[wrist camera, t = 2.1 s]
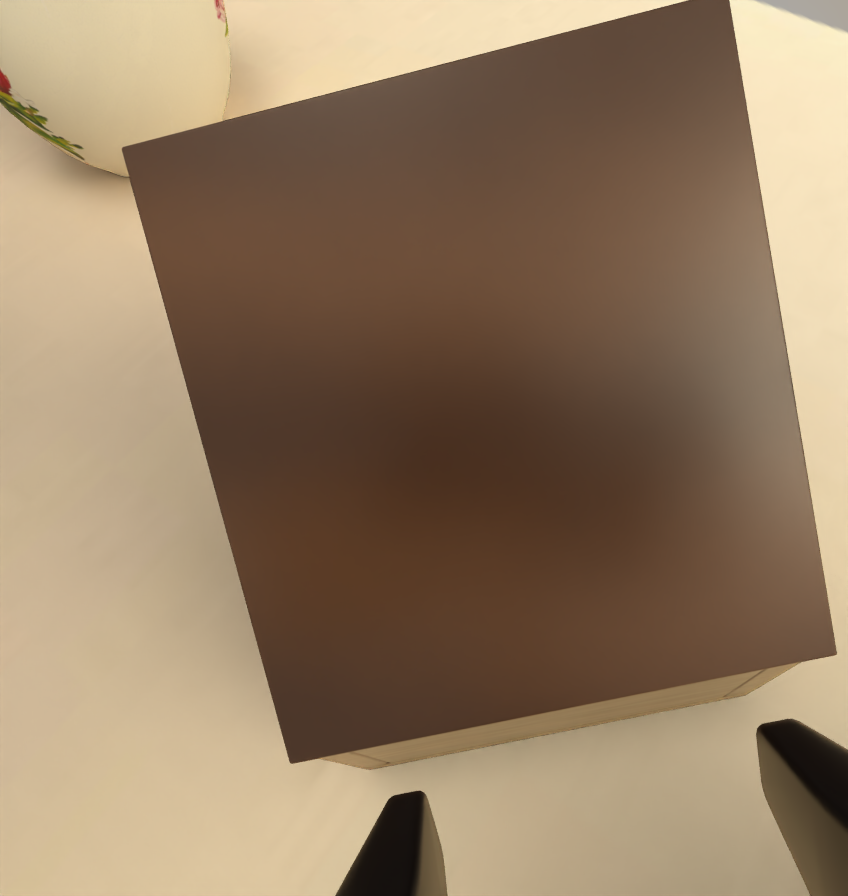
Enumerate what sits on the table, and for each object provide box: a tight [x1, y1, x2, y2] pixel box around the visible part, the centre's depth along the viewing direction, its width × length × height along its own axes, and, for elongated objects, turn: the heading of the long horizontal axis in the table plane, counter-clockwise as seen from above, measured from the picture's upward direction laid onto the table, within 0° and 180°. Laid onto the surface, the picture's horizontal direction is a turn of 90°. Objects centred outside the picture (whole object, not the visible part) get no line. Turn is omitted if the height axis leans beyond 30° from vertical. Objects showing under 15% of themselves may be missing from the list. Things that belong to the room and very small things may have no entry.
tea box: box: [318, 662, 801, 770], centre depth 21 cm, size 12×11×6 cm
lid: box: [122, 0, 837, 764], centre depth 14 cm, size 12×11×1 cm
